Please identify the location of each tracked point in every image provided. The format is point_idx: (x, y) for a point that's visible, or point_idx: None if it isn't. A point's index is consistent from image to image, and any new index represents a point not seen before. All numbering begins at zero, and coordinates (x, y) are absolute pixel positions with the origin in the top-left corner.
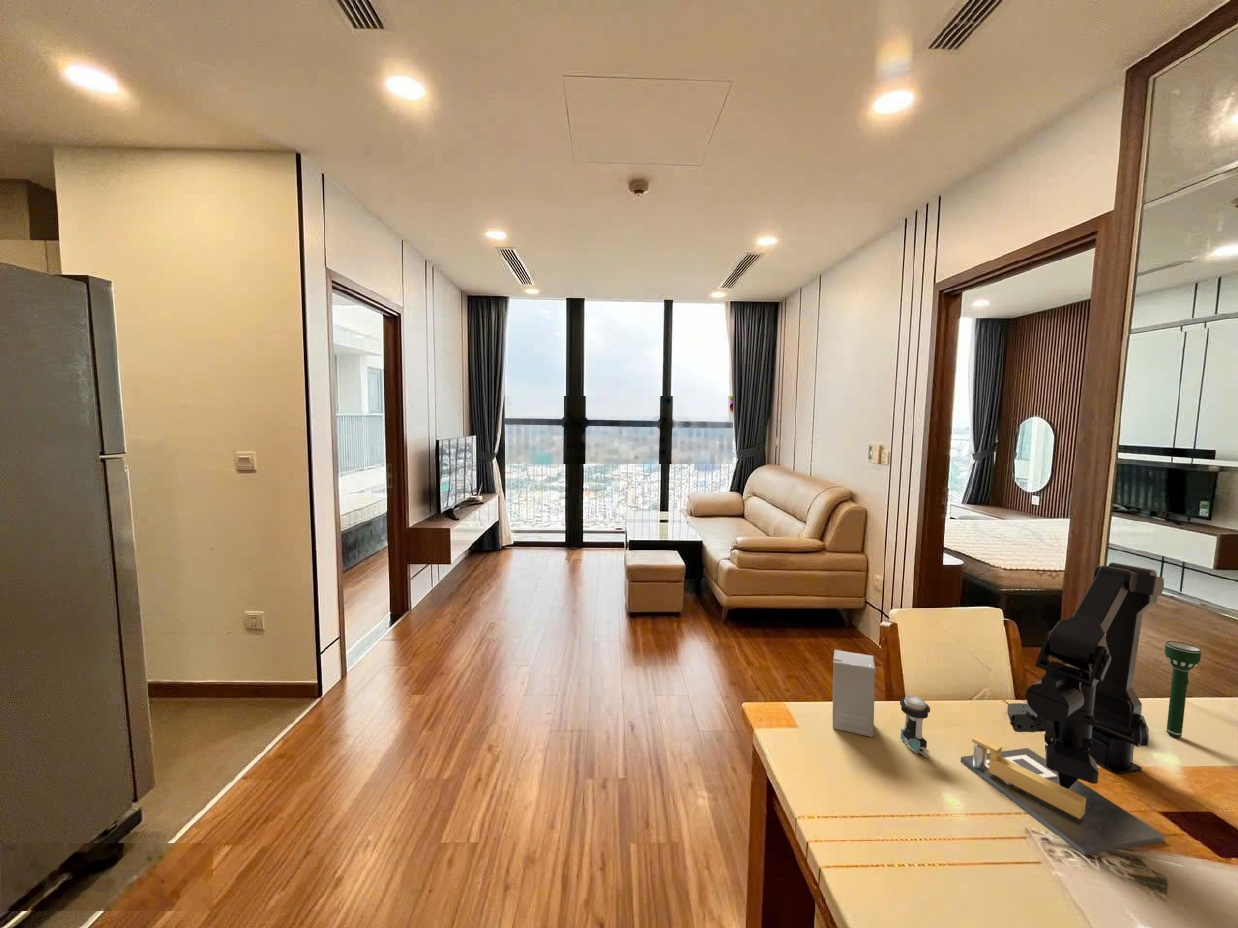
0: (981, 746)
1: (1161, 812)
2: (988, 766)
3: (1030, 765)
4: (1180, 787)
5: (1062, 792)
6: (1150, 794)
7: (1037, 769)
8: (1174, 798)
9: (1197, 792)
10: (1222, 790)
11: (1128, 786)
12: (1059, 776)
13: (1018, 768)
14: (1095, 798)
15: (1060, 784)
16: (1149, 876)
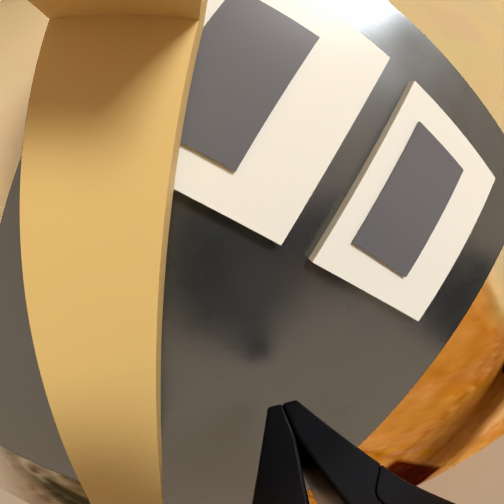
0: None
1: (396, 462)
2: (211, 3)
3: (431, 212)
4: (489, 424)
5: (93, 478)
6: (454, 427)
7: (416, 247)
8: (456, 441)
9: (482, 436)
10: (494, 438)
11: (467, 401)
12: (259, 466)
13: (88, 231)
14: (343, 429)
15: (268, 415)
16: (87, 499)
